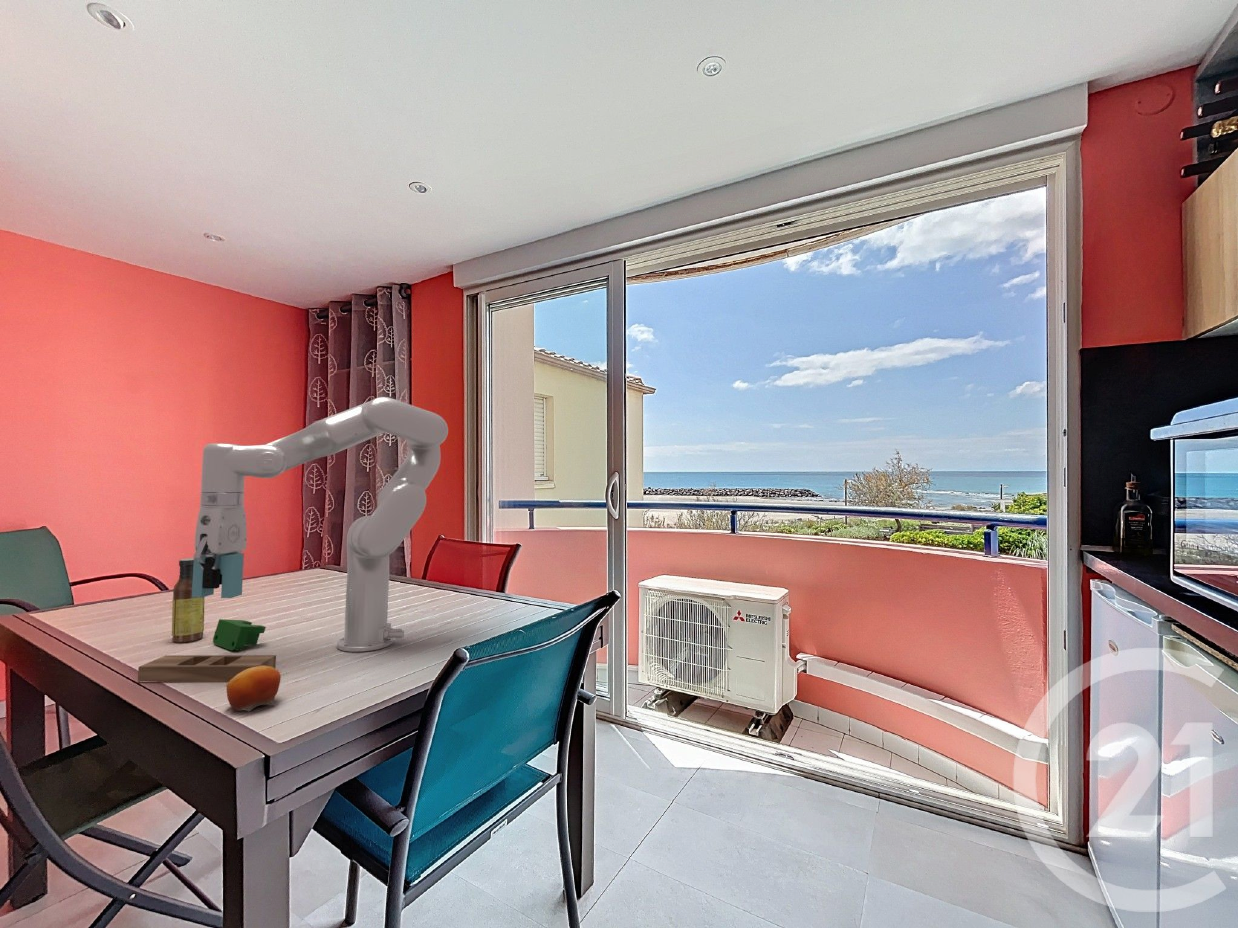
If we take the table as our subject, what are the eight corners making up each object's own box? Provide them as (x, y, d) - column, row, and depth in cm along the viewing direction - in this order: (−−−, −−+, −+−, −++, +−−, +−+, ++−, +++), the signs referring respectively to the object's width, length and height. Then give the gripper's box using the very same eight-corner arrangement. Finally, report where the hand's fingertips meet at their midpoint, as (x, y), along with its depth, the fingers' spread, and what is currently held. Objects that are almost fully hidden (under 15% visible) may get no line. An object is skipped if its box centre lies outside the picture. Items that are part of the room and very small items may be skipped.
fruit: (244, 713, 90) (235, 666, 92) (224, 727, 93) (216, 682, 96) (295, 697, 97) (284, 654, 99) (274, 711, 100) (265, 669, 103)
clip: (204, 593, 117) (206, 552, 118) (241, 594, 118) (243, 553, 118) (191, 597, 114) (193, 554, 114) (230, 598, 114) (232, 555, 114)
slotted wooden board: (164, 669, 112) (165, 655, 113) (275, 669, 114) (276, 655, 114) (137, 682, 106) (138, 666, 106) (256, 681, 107) (256, 666, 107)
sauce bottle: (209, 638, 135) (213, 558, 136) (182, 644, 129) (186, 561, 130) (191, 635, 137) (195, 556, 138) (163, 641, 131) (168, 559, 132)
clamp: (252, 664, 129) (270, 631, 129) (224, 665, 124) (244, 630, 125) (236, 636, 136) (253, 604, 136) (209, 636, 131) (228, 603, 131)
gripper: (213, 502, 108) (208, 594, 108) (263, 499, 125) (259, 579, 124) (174, 501, 108) (169, 593, 107) (230, 499, 125) (226, 579, 124)
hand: (218, 585), depth 116 cm, fingers closed on clip, 3 cm apart
